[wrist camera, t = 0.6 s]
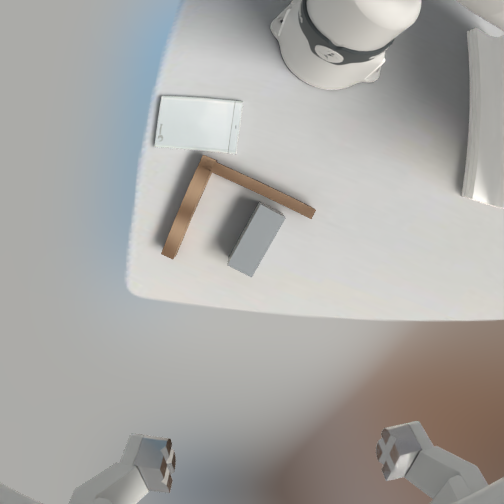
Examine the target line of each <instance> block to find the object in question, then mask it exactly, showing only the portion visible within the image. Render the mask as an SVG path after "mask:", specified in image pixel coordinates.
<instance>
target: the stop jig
mask: <svg viewBox="0 0 504 504" xmlns="http://www.w3.org/2000/svg"><path fill="white" fill-rule="evenodd" d="M212 173H215V174H217V175H219V176H221V177H224V178H226V179H228V180H230V181H233V182H235V183H237V184H239V185H241V186H243V187H246V188H248V189H250V190H252V191H254V192H256V193H258V194H261V195H263V196H265V197H267V198H269V199H271V200H273V201H275V202H277V203H279V204H282V205H284V206H286V207H288V208H290V209H292V210H294V211H296V212H298V213H300V214H302V215H304V216H306V217H308V218H310V219H312V217H313V215H314V213H315V211H316V210H315V209H314V208H312V207H310V206H308V205H306V204H304V203H302V202H300V201H298V200H296V199H294V198H292V197H290V196H288V195H286V194H284V193H282V192H280V191H278V190H276V189H274V188H272V187H269V186H267V185H265V184H263V183H261V182H259V181H257V180H255V179H252V178H250V177H248V176H246V175H244V174H242V173H239V172H237V171H235V170H233V169H231V168H228V167H226V166H224V165H222V164H220V163H217V160H215V159H212V158H210V157H208V156H205V155H203V156H202V158H201V160H200V162H199V165H198V167H197V169H196V171H195V173H194V176H193V178H192V180H191V183H190V185H189V187H188V189H187V192H186V194H185V196H184V199H183V201H182V203H181V206H180V208H179V211H178V213H177V215H176V218H175V220H174V223H173V225H172V228H171V230H170V233H169V235H168V238H167V240H166V243H165V245H164V248H163V250H162V253H161V254H162V255H164V256H167V257H169V258H171V259H174V257H175V256H176V255H177V252H178V250H179V247H180V245H181V242H182V240H183V238H184V235H185V233H186V230H187V228H188V226H189V223H190V221H191V219H192V216H193V214H194V212H195V209H196V207H197V205H198V203H199V200H200V198H201V196H202V194H203V191H204V189H205V187H206V185H207V182H208V180H209V178H210V176H211V174H212Z"/></svg>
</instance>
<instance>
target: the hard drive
mask: <svg viewBox="0 0 504 504" xmlns="http://www.w3.org/2000/svg"><path fill="white" fill-rule="evenodd" d="M242 109H243V101H234V100H224V99H213V98H199V97H181V96H162V97H161V103H160V109H159V116H158V122H157V130H156V138H155V147H156V148H171V149H184V150H196V151H207V152H217V153H227V154H236V152H237V145H238V137H239V130H240V123H241V116H242Z"/></svg>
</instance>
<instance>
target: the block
mask: <svg viewBox="0 0 504 504" xmlns="http://www.w3.org/2000/svg"><path fill="white" fill-rule="evenodd" d="M467 41H468V53H469V73H470V112H469V132H468V146H467V156H466V166H465V174H464V181H463V188H462V195H461V196H462V197H465V198H468V199H471V200H474V201H478V202H481V203H484V204H487V205H490V206H494V207H498V208H502V209H504V35H503V36H500V37H492V36H490V35H488V34H486V33H485V32H483V31H482V30H480V29H478V28H477V27H476V28H474V29H471V30H470V31H467Z"/></svg>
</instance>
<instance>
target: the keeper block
mask: <svg viewBox="0 0 504 504" xmlns="http://www.w3.org/2000/svg"><path fill="white" fill-rule="evenodd" d="M284 220H285V216H284V215H283V214H282V213H280V212H279V211H277V210H275V209H273V208H271V207H269V206H268V205H266V204H264V203H262V202H260V201H259V203H258V205H257V207H256V208H255V210H254V212H253V214H252V216H251V218H250V219H249V221H248V223H247V225H246V227H245V229H244V230H243V232H242V234H241V236H240V238H239V240H238V241H237V243H236V245H235V247H234V249H233V251H232V252H231V254H230V256H229V259H228V264H227V265H228V266H230V267H232V268H234V269H236V270H238V271H240V272H242V273H244V274H246V275H248V276H250V277H252V276H253V274H254V272H255V271H256V269H257V267H258V265H259V264H260V262H261V260H262V258H263V257H264V255H265V253H266V251H267V250H268V248H269V246H270V244H271V243H272V241H273V239H274V237H275V236H276V234H277V232H278V230H279V229H280V227H281V225H282V223H283V222H284Z"/></svg>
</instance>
